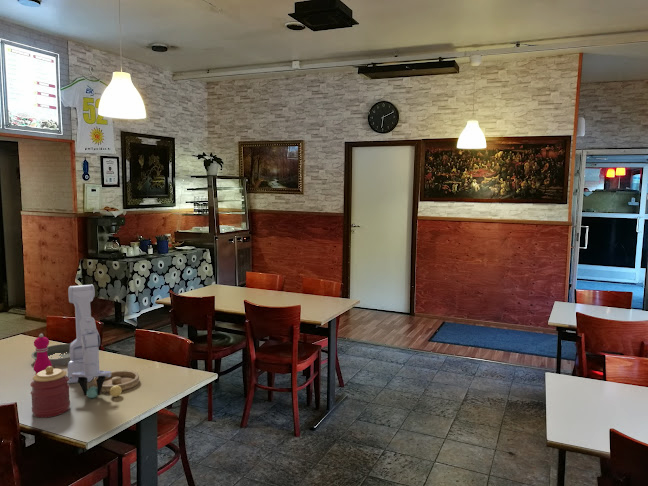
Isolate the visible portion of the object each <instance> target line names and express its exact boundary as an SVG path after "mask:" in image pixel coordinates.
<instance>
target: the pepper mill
mask: <svg viewBox="0 0 648 486" xmlns="http://www.w3.org/2000/svg"><path fill="white" fill-rule="evenodd" d="M49 344H50V340H49V338H48V337H46V336H44V334H43V333H40V334H39V335H38V337H37V338H35V339H34V341H33V345H34V347H35V351H36V352H37V359H36V361H35V360H34V364H33V371H34V372H35V374H34V375H36V374H37V373H38V372H40V371H43V370H46V368H47V367H48V366H52V364H51V361H50V360H49V358H48V355H47V350H48V346H50V345H49ZM52 367H53V366H52Z"/></svg>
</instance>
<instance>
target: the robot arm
mask: <svg viewBox="0 0 648 486" xmlns="http://www.w3.org/2000/svg"><path fill="white" fill-rule="evenodd" d="M67 290H68V302H69V304H73V306H74V311H75V312H74V313H75V314H74V315H75V333H76V336H75V337H76V338H75V339H74V340H73V341H71V342H70V343H69V344H70V360H71V361H69V363H68V364H67V376H68V377H69V381H68V384H70V383H71V384H72V383H77V384H79V386H80V388H81V389H82V393H83V396H84V397H87V394H86V392H87V390H88V383H90V382H91V381H93V380H94V379H95V378H96V377H98V378H97V380H96V381H97V387H98V395H97V396H100V395H101V394H102V392H101V389H102V385H103V382H104V380H105V378H106V377H111V372H112V370H100V349H99V347H100V346H101V337H100V333H99V331H98V329H97V325H96V319H95V318H94V317H93V316H92V309H91V302H93V300H94V298H95V296H96V291H95V286H94V285H93V284H92V283H91V284H83V285H82V284H81V285H80V284H79V285H70V286H68V289H67Z"/></svg>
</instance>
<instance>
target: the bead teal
mask: <svg viewBox="0 0 648 486" xmlns="http://www.w3.org/2000/svg"><path fill="white" fill-rule="evenodd" d="M86 394H87V395H86V397H88V398H90V399H95V398H97V396H99V395H98V388H97V387H94V386H93V385H92V386H89V387H87V392H86Z"/></svg>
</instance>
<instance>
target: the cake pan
mask: <svg viewBox="0 0 648 486" xmlns="http://www.w3.org/2000/svg"><path fill="white" fill-rule="evenodd" d="M70 344H71V343H60V344H53V345H48V346H47V347H48V350H47V355H48V356H50V355H53V354H55V353H61V354H62V355H61V354H60V355H59V356H61V357H63V358H61V357H60V358H58V359H49V360H50V361H51V364H52V367H61V366H62V367H63V366H66V365H67V366H68V363H69V361H71V360H70ZM66 352H67V353H66ZM64 353H65V355H64ZM31 358H32V359H34V362H35V361H36V359H37V352H36V350H35V351H34V352H32V353H31ZM51 358H52V357H51Z"/></svg>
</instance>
